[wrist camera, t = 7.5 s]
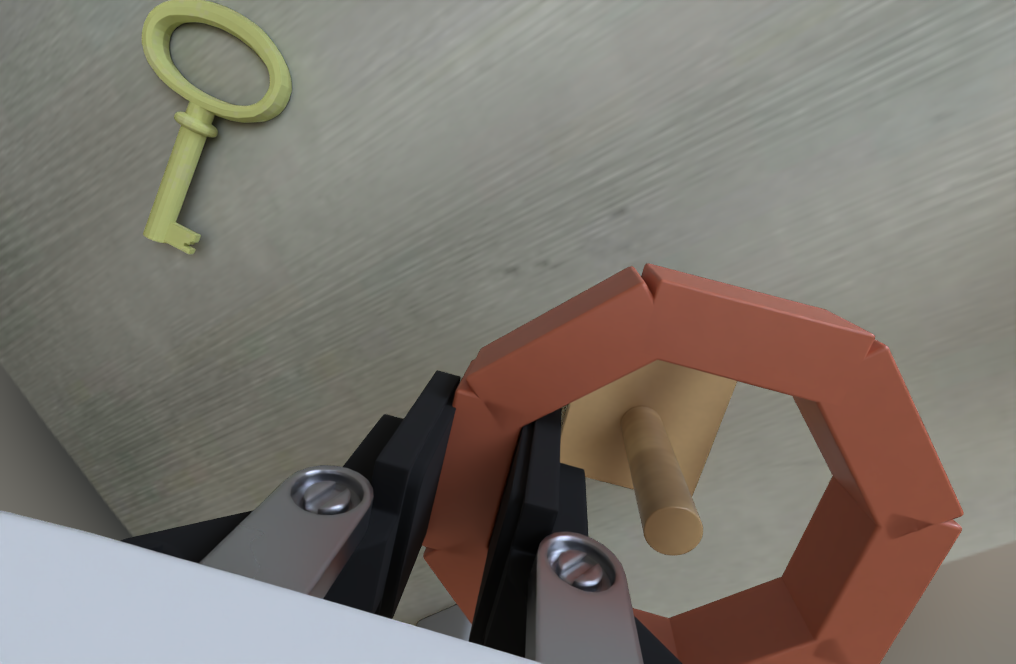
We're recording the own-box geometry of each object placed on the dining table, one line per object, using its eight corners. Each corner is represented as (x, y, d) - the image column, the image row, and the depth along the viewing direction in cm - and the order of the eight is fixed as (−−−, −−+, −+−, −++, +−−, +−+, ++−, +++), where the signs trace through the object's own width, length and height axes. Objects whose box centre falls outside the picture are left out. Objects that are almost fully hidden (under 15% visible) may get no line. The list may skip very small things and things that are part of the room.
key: (167, 243, 29) (137, 248, 27) (158, -4, 26) (122, -20, 24) (289, 264, 29) (268, 271, 27) (297, 16, 25) (273, 1, 23)
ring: (974, 348, 10) (1057, 382, 8) (781, 696, 13) (814, 774, 11) (503, 225, 11) (490, 234, 9) (416, 590, 13) (394, 651, 12)
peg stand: (733, 369, 28) (820, 468, 18) (685, 494, 30) (740, 638, 21) (588, 333, 28) (598, 412, 19) (552, 459, 31) (545, 586, 21)
